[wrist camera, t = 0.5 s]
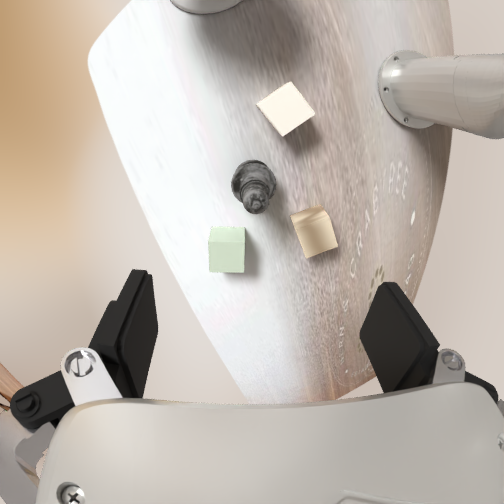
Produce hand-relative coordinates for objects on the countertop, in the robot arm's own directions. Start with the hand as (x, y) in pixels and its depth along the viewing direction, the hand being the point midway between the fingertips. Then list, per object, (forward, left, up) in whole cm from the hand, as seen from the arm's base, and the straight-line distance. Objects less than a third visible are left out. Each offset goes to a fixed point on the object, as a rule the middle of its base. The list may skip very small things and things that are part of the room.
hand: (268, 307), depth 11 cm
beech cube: (-7, +12, -32) cm, 34 cm away
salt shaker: (0, +3, -32) cm, 32 cm away
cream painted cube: (-6, -6, -32) cm, 33 cm away
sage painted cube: (+6, +12, -32) cm, 34 cm away
